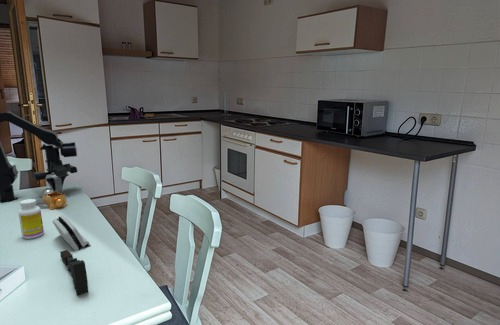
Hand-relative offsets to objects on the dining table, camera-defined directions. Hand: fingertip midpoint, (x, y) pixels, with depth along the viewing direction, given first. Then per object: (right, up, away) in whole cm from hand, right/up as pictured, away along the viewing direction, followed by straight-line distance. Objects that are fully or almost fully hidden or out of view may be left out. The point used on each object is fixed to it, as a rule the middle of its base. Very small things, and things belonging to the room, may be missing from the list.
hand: (57, 189), depth 170 cm
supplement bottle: (+16, -13, -45) cm, 49 cm away
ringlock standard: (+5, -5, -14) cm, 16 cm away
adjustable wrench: (+42, -19, -70) cm, 84 cm away
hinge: (+31, -14, -49) cm, 60 cm away
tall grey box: (0, -2, 0) cm, 2 cm away
